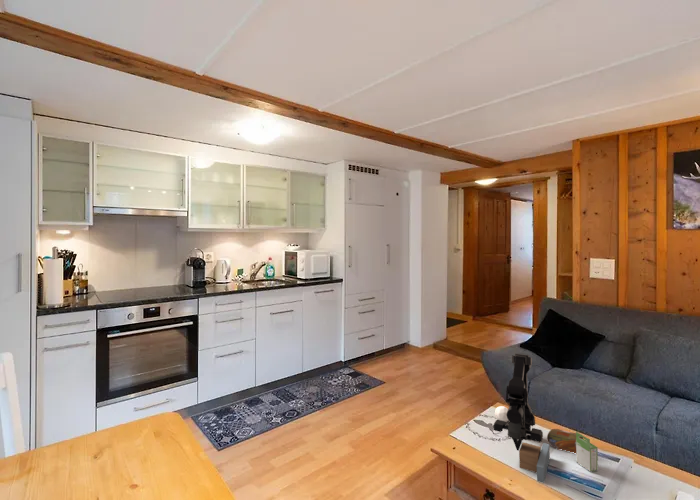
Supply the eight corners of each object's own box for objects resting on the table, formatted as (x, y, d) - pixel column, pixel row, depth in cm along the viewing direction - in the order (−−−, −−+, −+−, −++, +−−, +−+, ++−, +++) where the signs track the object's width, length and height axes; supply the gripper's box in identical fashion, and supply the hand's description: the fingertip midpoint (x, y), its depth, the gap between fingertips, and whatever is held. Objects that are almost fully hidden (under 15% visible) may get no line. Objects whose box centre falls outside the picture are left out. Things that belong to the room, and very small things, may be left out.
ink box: (598, 471, 148) (597, 438, 148) (590, 472, 147) (589, 439, 147) (584, 461, 154) (583, 430, 154) (576, 462, 154) (575, 431, 154)
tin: (547, 446, 167) (546, 428, 167) (548, 443, 169) (547, 425, 169) (586, 457, 157) (585, 437, 157) (586, 453, 160) (586, 434, 160)
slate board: (543, 456, 159) (543, 442, 159) (549, 458, 157) (549, 444, 157) (537, 481, 142) (536, 465, 142) (543, 483, 141) (543, 467, 141)
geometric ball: (499, 424, 194) (493, 408, 198) (514, 421, 191) (508, 405, 196) (496, 422, 188) (491, 406, 193) (512, 419, 185) (506, 403, 190)
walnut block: (523, 458, 158) (522, 442, 158) (541, 463, 154) (540, 446, 154) (519, 467, 151) (519, 450, 151) (538, 473, 147) (537, 455, 147)
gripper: (489, 415, 154) (490, 452, 154) (538, 427, 143) (539, 466, 143) (496, 406, 163) (496, 440, 163) (542, 416, 152) (543, 453, 152)
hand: (517, 449), depth 155 cm, fingers closed
